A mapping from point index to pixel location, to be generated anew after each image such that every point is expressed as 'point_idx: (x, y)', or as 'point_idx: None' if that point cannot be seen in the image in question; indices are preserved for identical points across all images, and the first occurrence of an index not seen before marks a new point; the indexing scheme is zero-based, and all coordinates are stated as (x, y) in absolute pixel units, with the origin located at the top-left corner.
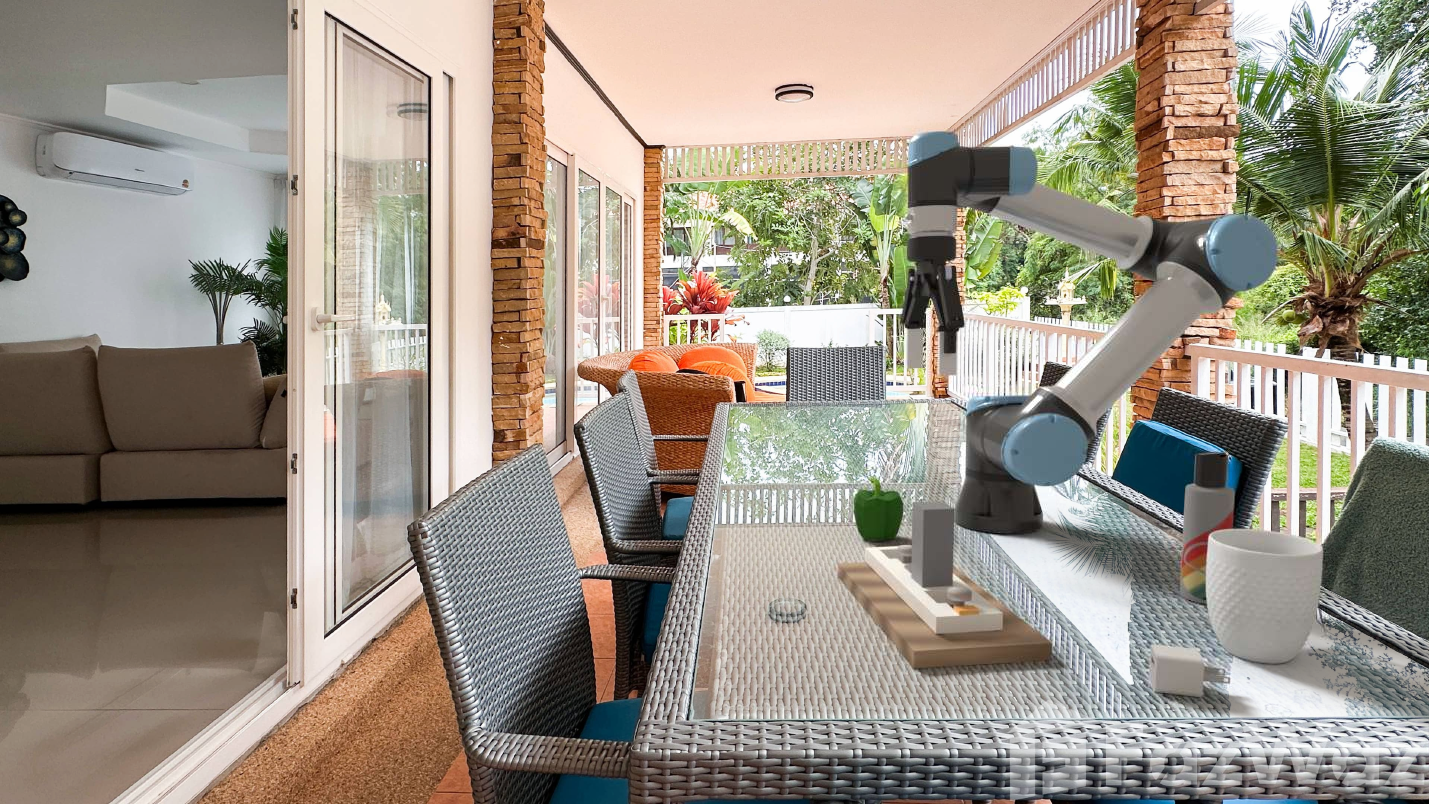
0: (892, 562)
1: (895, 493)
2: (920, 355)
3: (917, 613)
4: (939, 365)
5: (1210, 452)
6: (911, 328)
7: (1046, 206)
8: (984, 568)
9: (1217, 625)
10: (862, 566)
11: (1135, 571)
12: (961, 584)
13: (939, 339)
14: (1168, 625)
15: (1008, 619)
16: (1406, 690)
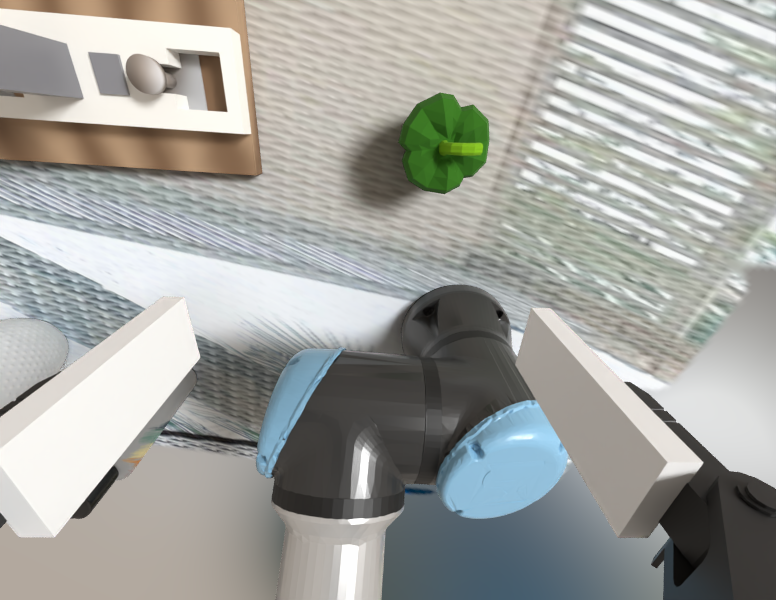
0: (145, 45)
1: (440, 183)
2: (540, 392)
3: None
4: (134, 318)
5: (88, 511)
6: (684, 494)
7: None
8: (273, 231)
9: (4, 321)
10: (215, 19)
11: (256, 367)
12: (48, 112)
13: (18, 411)
14: (98, 312)
15: (7, 142)
16: None
